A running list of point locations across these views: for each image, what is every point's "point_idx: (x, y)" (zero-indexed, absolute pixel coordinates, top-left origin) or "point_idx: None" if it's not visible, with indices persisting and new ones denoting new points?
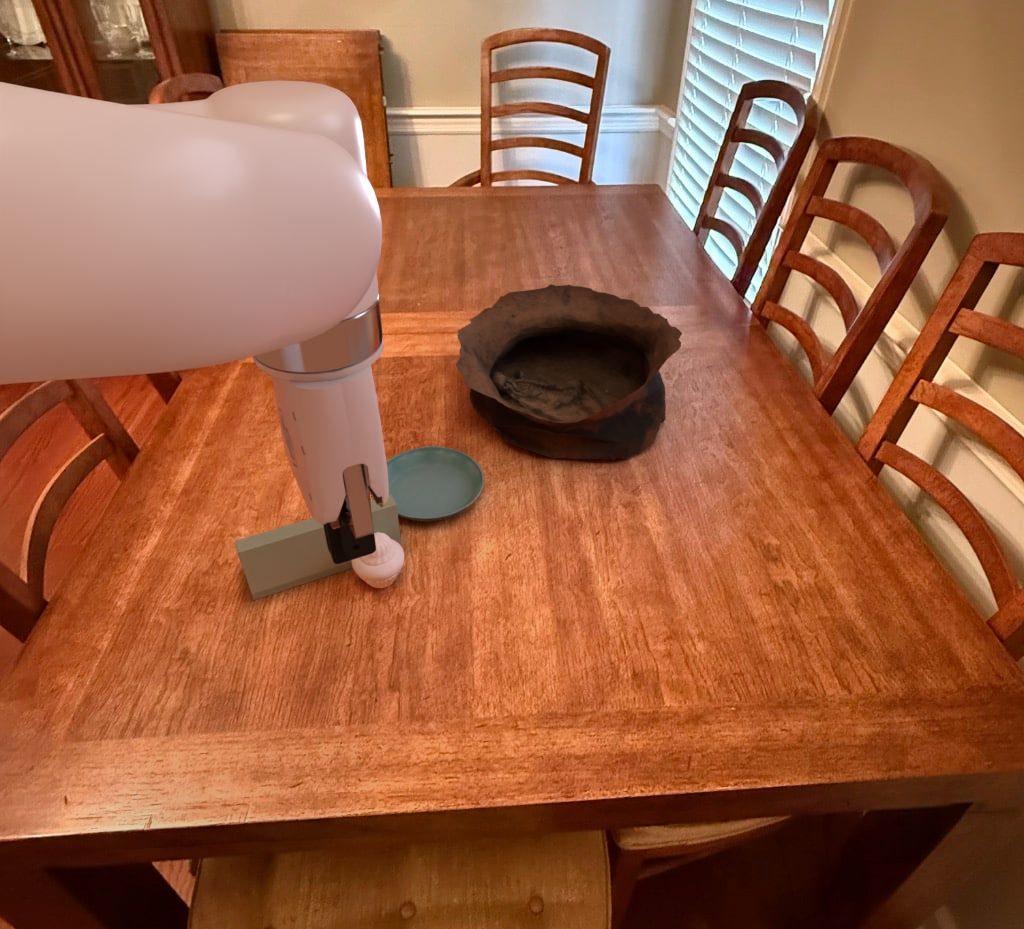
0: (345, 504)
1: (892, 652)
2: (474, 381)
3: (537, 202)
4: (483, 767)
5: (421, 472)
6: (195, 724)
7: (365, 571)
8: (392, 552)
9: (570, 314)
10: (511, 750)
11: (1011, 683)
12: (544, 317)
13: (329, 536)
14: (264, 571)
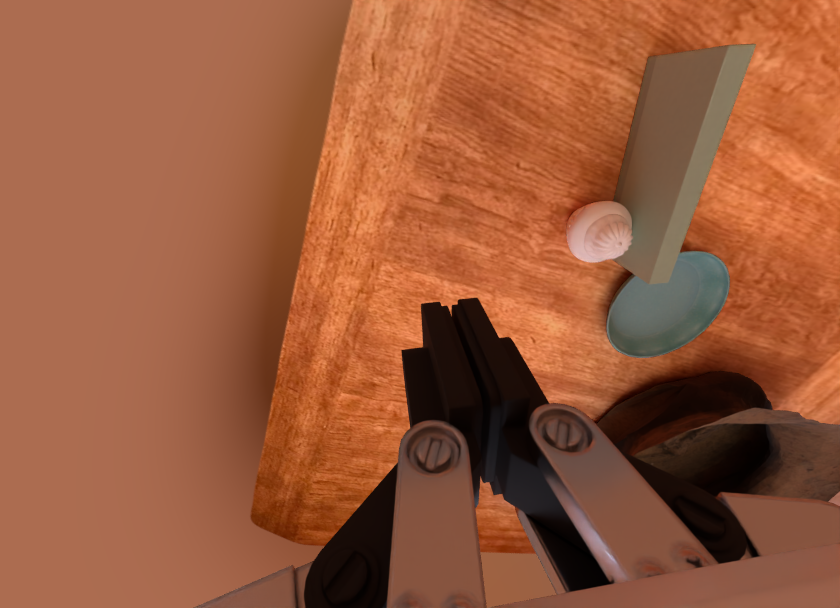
0: (505, 474)
1: (333, 509)
2: (754, 414)
3: None
4: (332, 254)
5: (686, 299)
6: None
7: (588, 215)
8: (592, 254)
9: None
10: (341, 281)
11: (294, 541)
12: (778, 488)
13: (439, 369)
14: (674, 83)
